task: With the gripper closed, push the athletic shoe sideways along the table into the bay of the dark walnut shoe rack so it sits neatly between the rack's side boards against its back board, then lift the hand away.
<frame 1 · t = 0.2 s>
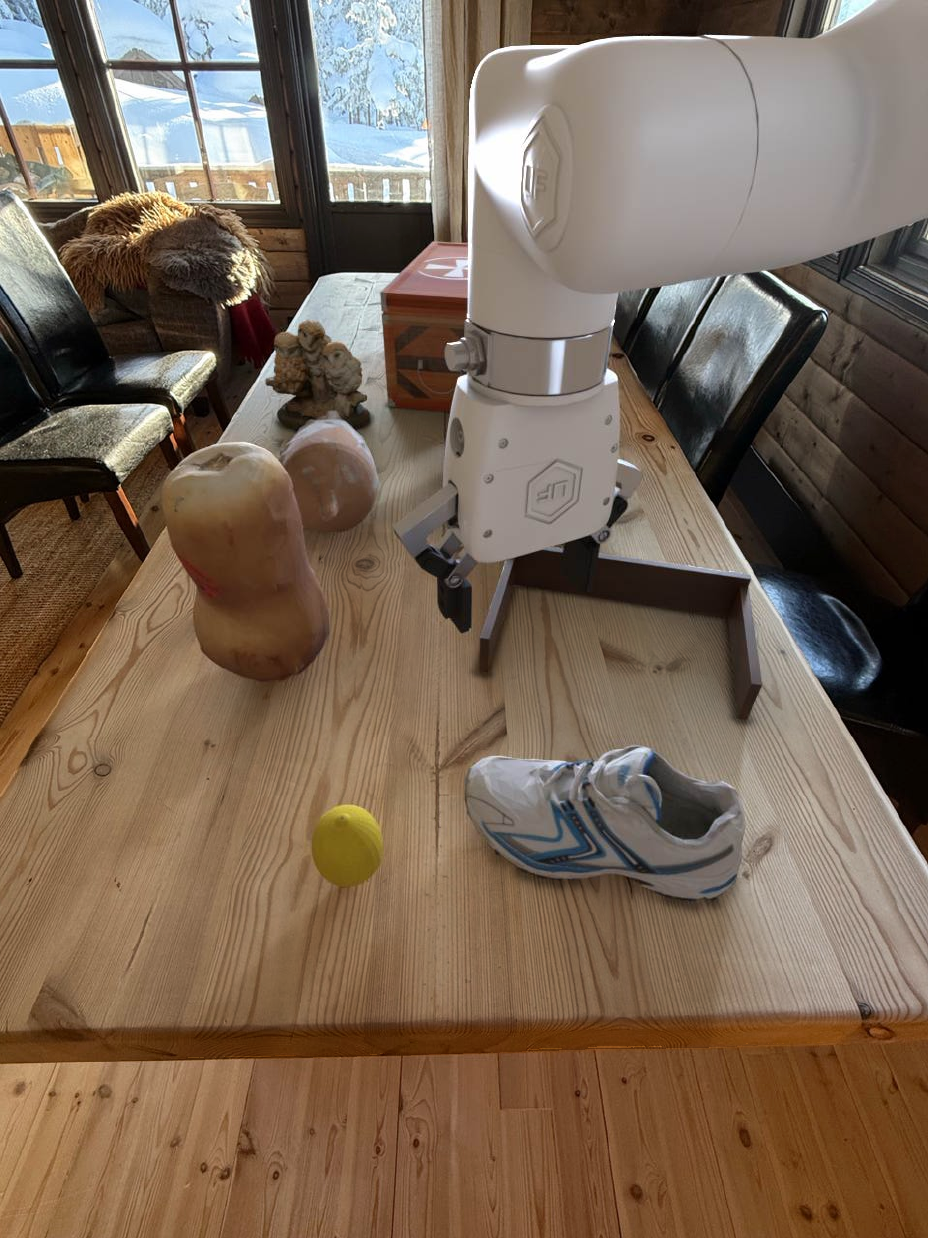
hand: (518, 600, 46), 22 cm above the table, tool pointing down, fingers open, 9 cm apart
owl figurine: (322, 420, 120), on the table
wooden box: (460, 372, 138), on the table
shoe rack: (613, 644, 75), on the table
butternut squash: (276, 663, 73), on the table
athletic shoe: (593, 837, 57), on the table
casserole dish: (530, 488, 102), on the table
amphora: (335, 508, 97), on the table
lemon: (353, 873, 54), on the table
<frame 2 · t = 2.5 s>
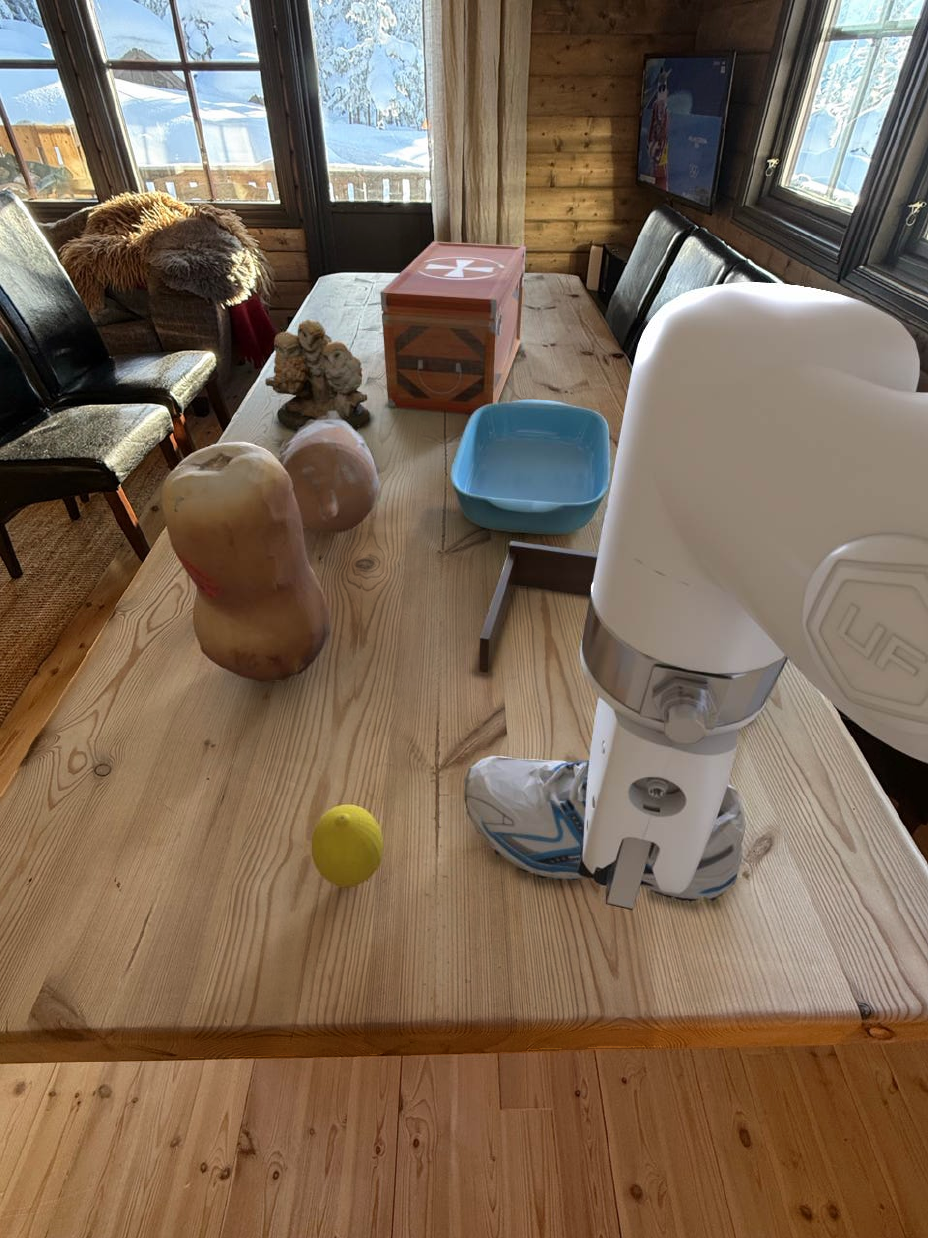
hand: (606, 868, 38), 16 cm above the table, tool pointing down, fingers closed
nothing on the table moved.
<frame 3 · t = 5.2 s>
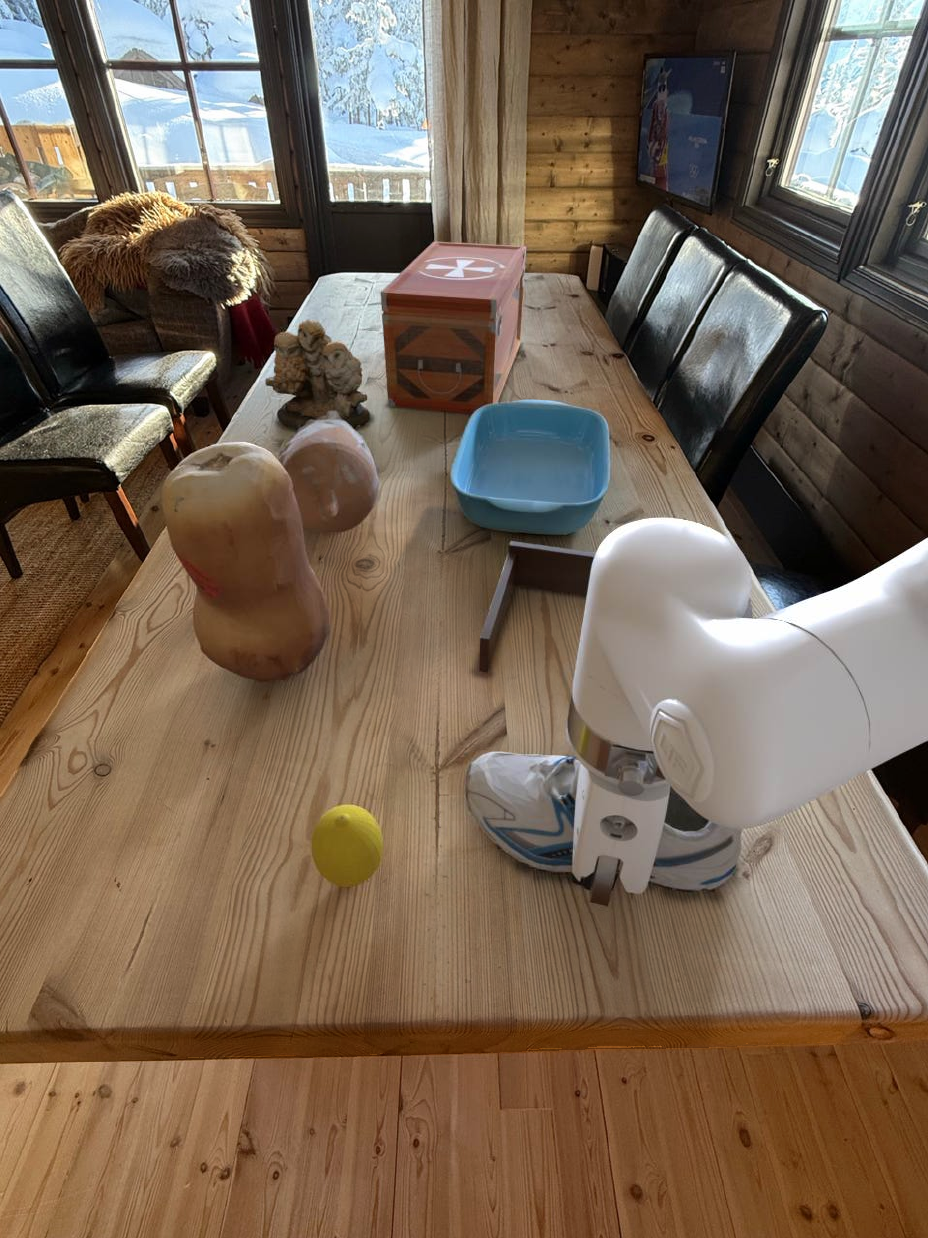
hand: (592, 878, 51), 3 cm above the table, tool pointing down, fingers closed
athletic shoe: (593, 831, 57), on the table, touching gripper
everything else where it was.
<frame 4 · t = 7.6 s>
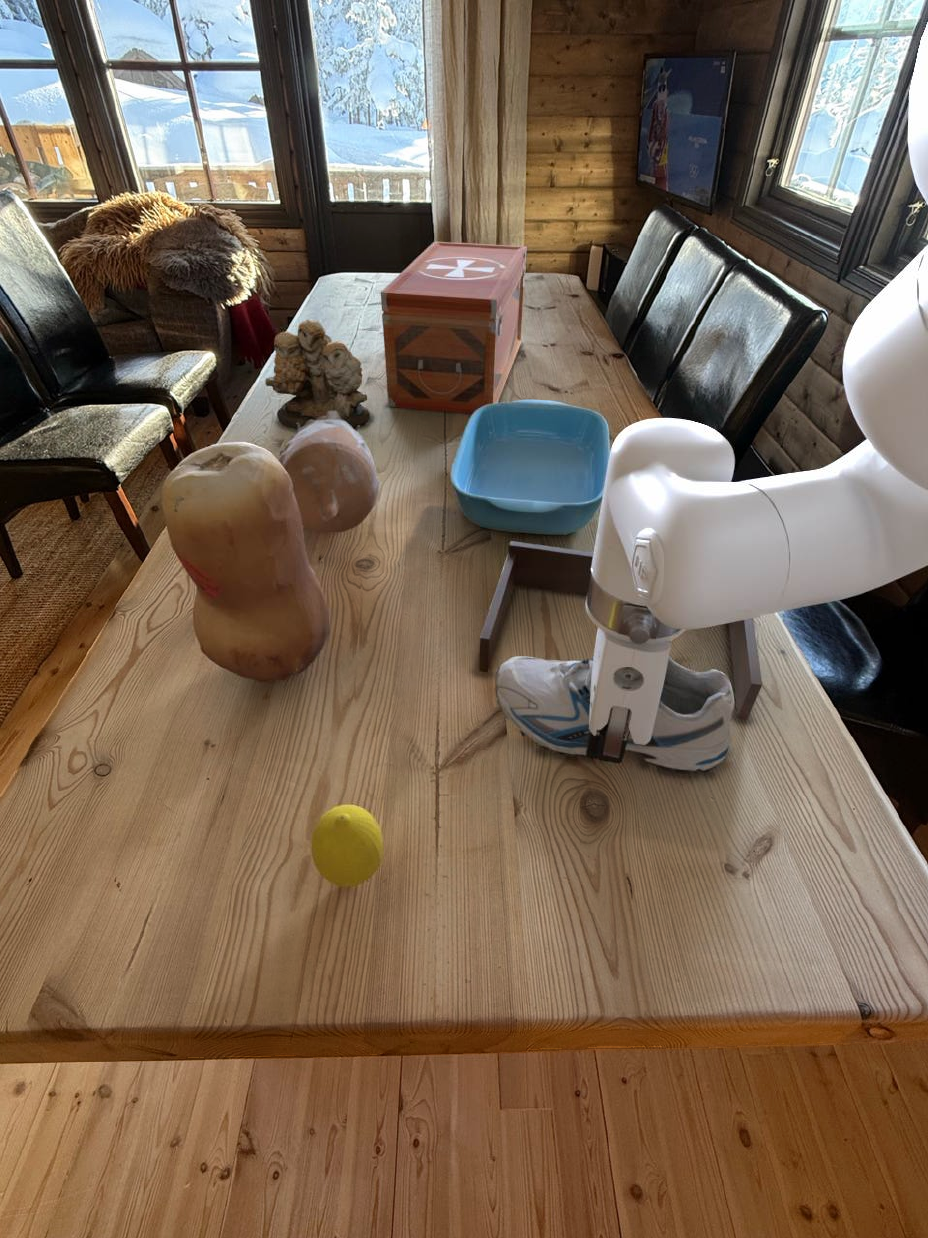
hand: (604, 753, 59), 3 cm above the table, tool pointing down, fingers closed
athletic shoe: (605, 726, 66), on the table, touching gripper
everything else where it was.
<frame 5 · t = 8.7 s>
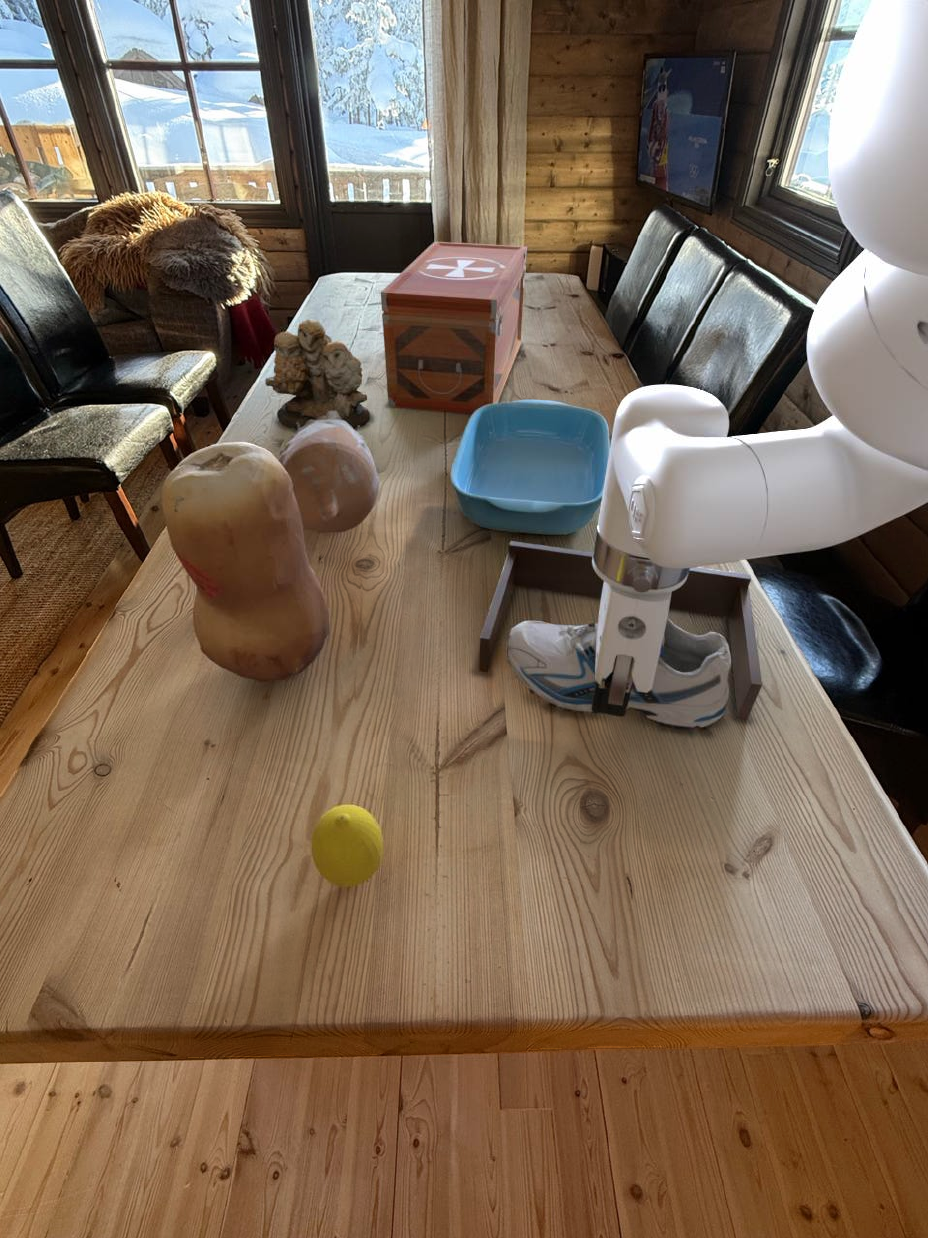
hand: (608, 708, 63), 3 cm above the table, tool pointing down, fingers closed
athletic shoe: (609, 687, 70), on the table, touching gripper
everything else where it was.
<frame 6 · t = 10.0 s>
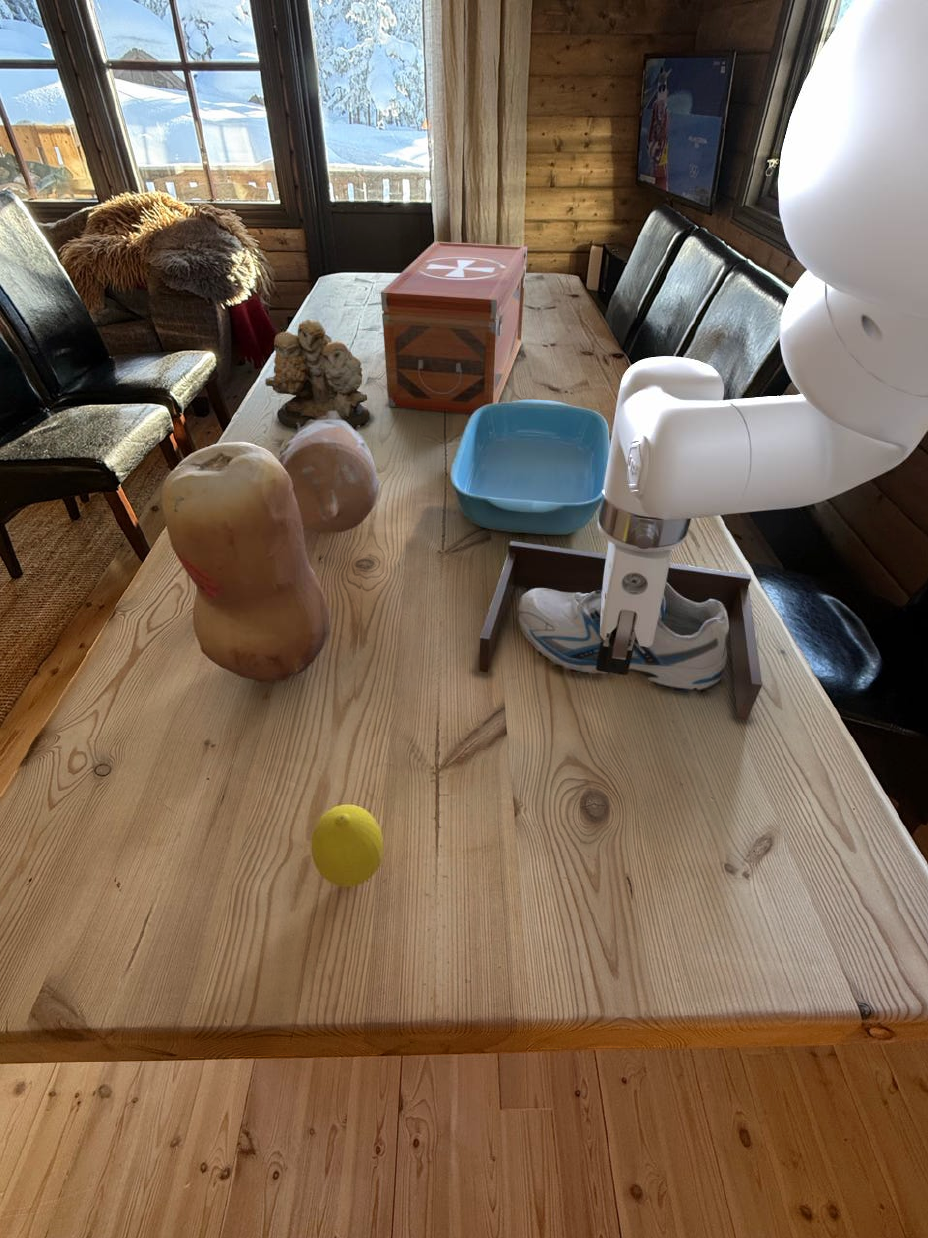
hand: (611, 667, 68), 3 cm above the table, tool pointing down, fingers closed
athletic shoe: (614, 652, 74), on the table, touching gripper
everything else where it was.
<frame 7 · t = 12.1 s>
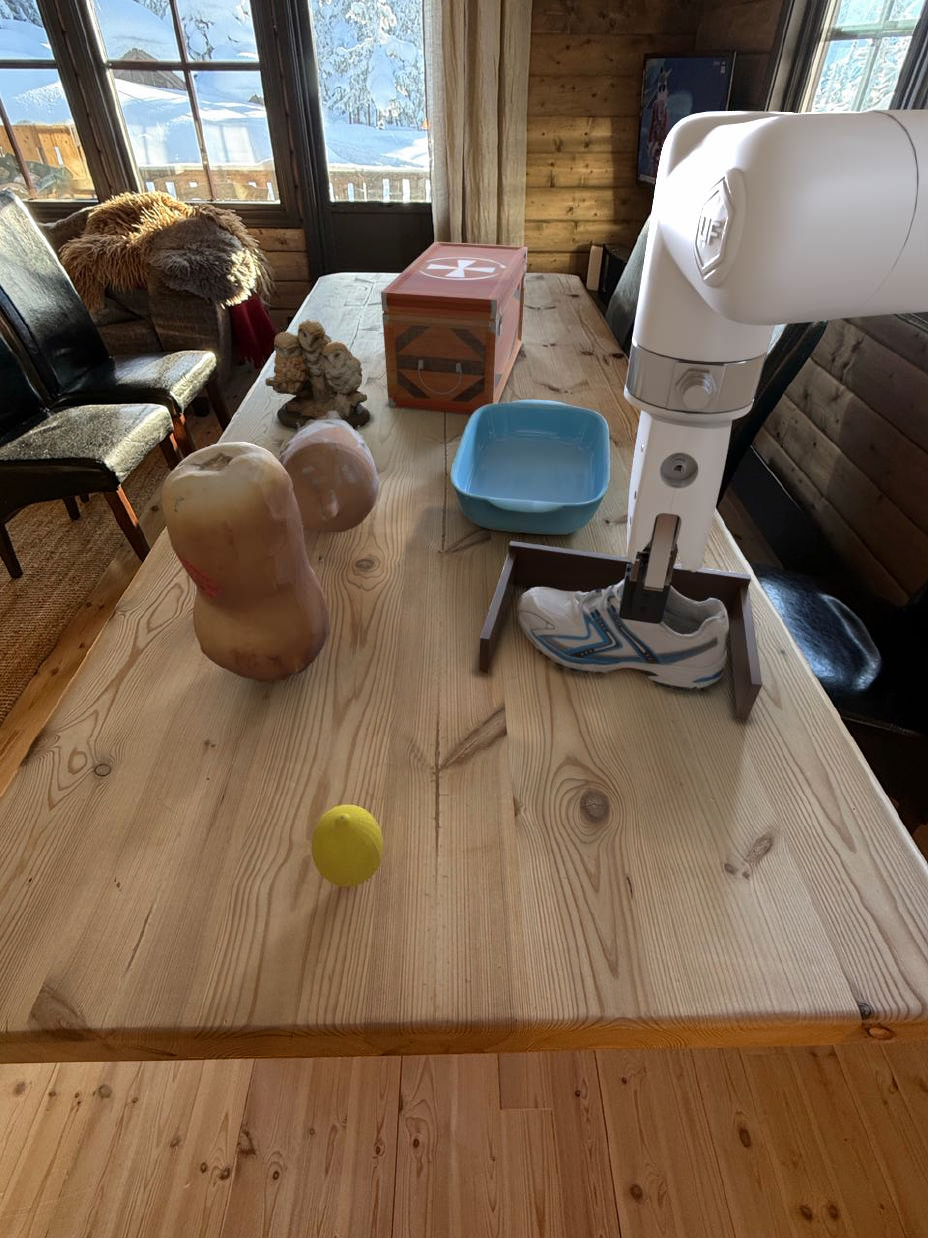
hand: (639, 614, 51), 19 cm above the table, tool pointing down, fingers closed
athletic shoe: (614, 651, 75), on the table
everything else where it was.
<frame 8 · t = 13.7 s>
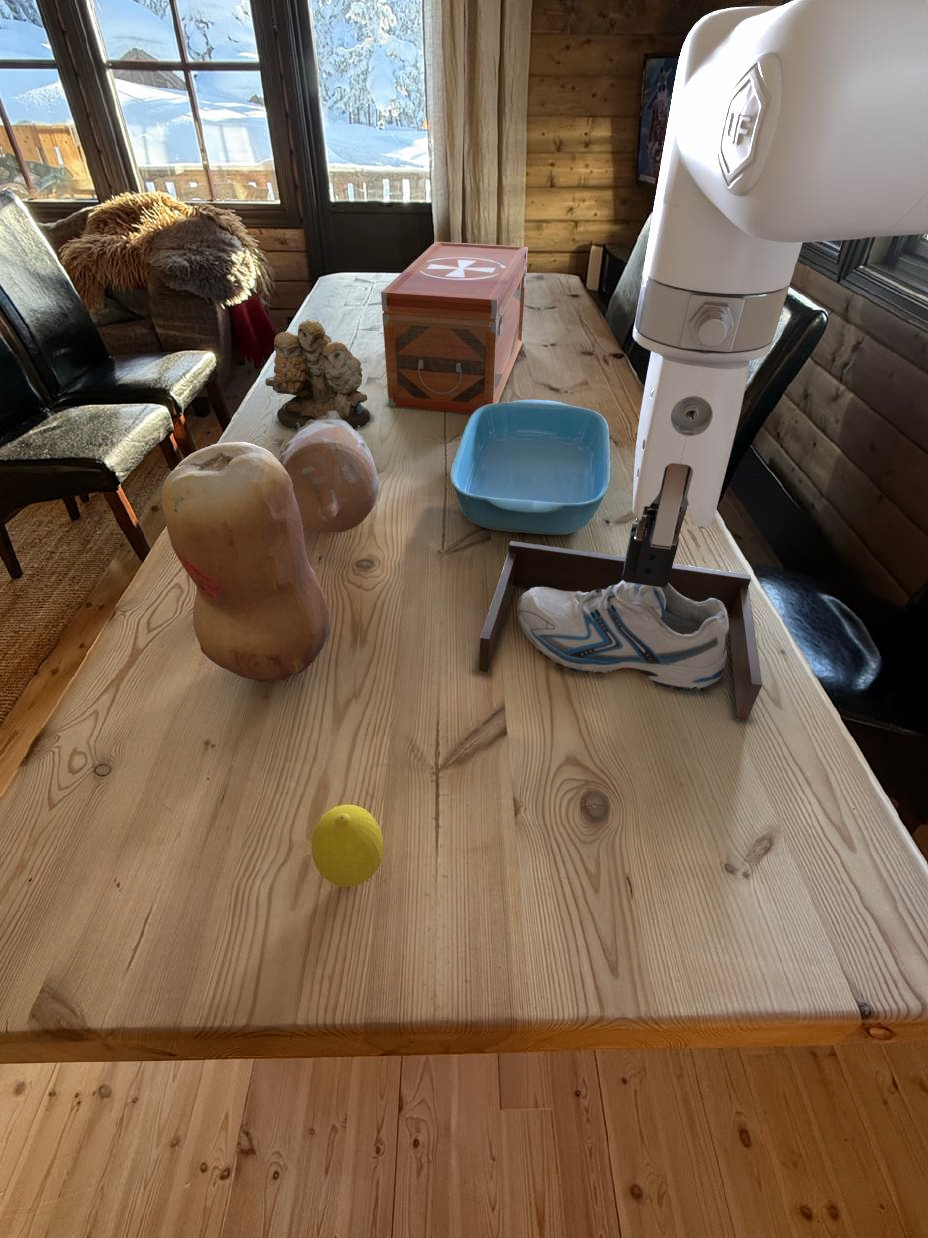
hand: (644, 577, 48), 22 cm above the table, tool pointing down, fingers closed
nothing on the table moved.
at the end: athletic shoe inside the target area on the shoe rack (0.5 cm from its centre), point 0.0 cm above the shoe rack's base; athletic shoe tilted 1°; athletic shoe moved 24.0 cm from its start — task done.
